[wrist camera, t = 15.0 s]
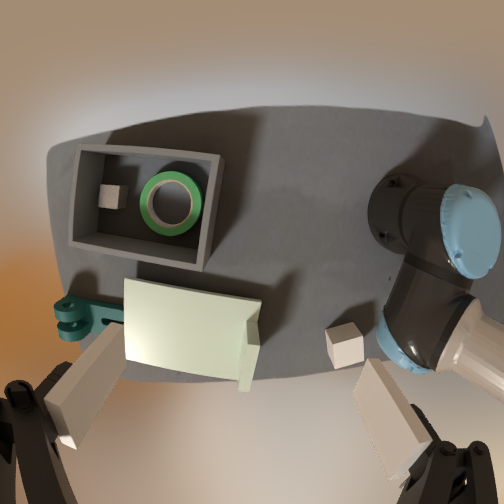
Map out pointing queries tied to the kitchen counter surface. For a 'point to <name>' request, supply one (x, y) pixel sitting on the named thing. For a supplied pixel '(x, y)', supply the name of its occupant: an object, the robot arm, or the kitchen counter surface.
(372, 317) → the kitchen counter surface
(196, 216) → the tape roll
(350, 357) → the white cube
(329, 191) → the kitchen counter surface
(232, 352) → the pale green l-shaped plate
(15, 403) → the robot arm
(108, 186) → the steel block
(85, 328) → the bracket
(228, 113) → the kitchen counter surface
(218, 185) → the tub
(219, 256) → the kitchen counter surface
